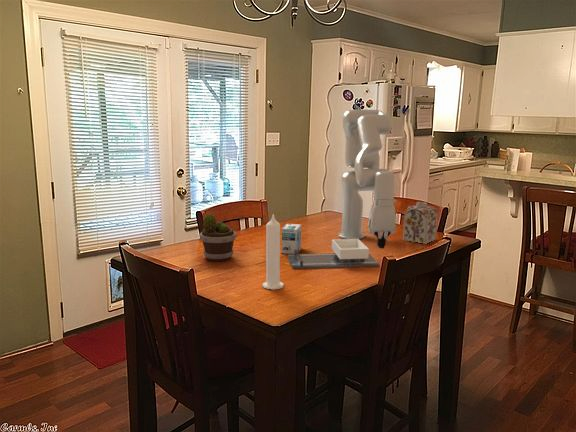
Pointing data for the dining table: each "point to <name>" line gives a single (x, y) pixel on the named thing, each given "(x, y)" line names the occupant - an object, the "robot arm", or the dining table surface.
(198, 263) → the dining table surface
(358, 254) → the cart
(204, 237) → the flowerpot
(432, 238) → the decorative jar
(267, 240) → the candle
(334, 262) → the track
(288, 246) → the light bulb box
